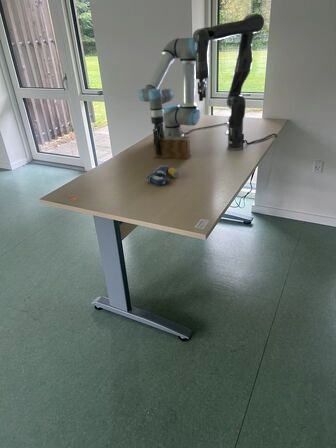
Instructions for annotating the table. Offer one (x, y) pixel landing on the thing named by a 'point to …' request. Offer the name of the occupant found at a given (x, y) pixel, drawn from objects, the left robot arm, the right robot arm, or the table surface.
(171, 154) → the box
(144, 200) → the table surface
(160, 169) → the blue yellow printed carton
